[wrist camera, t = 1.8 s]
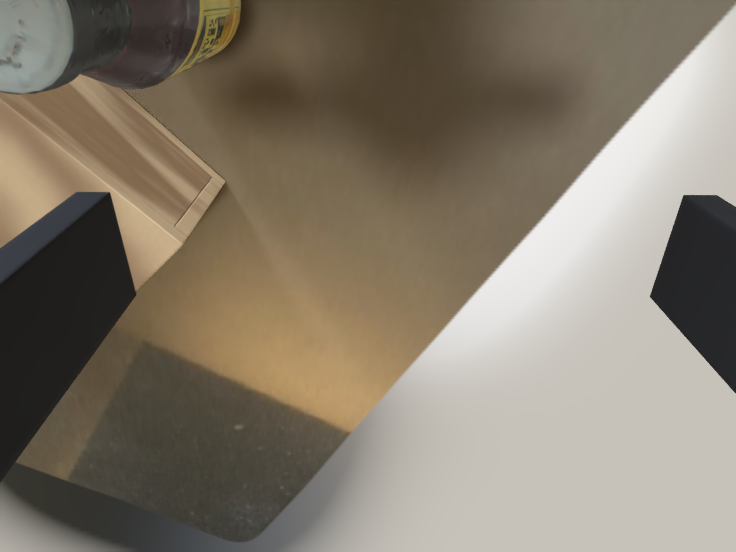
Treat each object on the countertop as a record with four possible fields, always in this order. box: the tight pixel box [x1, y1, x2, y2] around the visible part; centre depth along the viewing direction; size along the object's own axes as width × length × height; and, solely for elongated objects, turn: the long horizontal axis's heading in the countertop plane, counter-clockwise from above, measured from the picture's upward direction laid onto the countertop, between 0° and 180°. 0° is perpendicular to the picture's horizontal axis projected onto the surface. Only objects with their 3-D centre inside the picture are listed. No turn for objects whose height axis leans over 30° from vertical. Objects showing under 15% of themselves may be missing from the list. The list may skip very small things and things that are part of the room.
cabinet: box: [0, 74, 226, 292], centre depth 32 cm, size 15×13×10 cm
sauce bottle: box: [0, 0, 241, 95], centre depth 22 cm, size 6×6×20 cm
